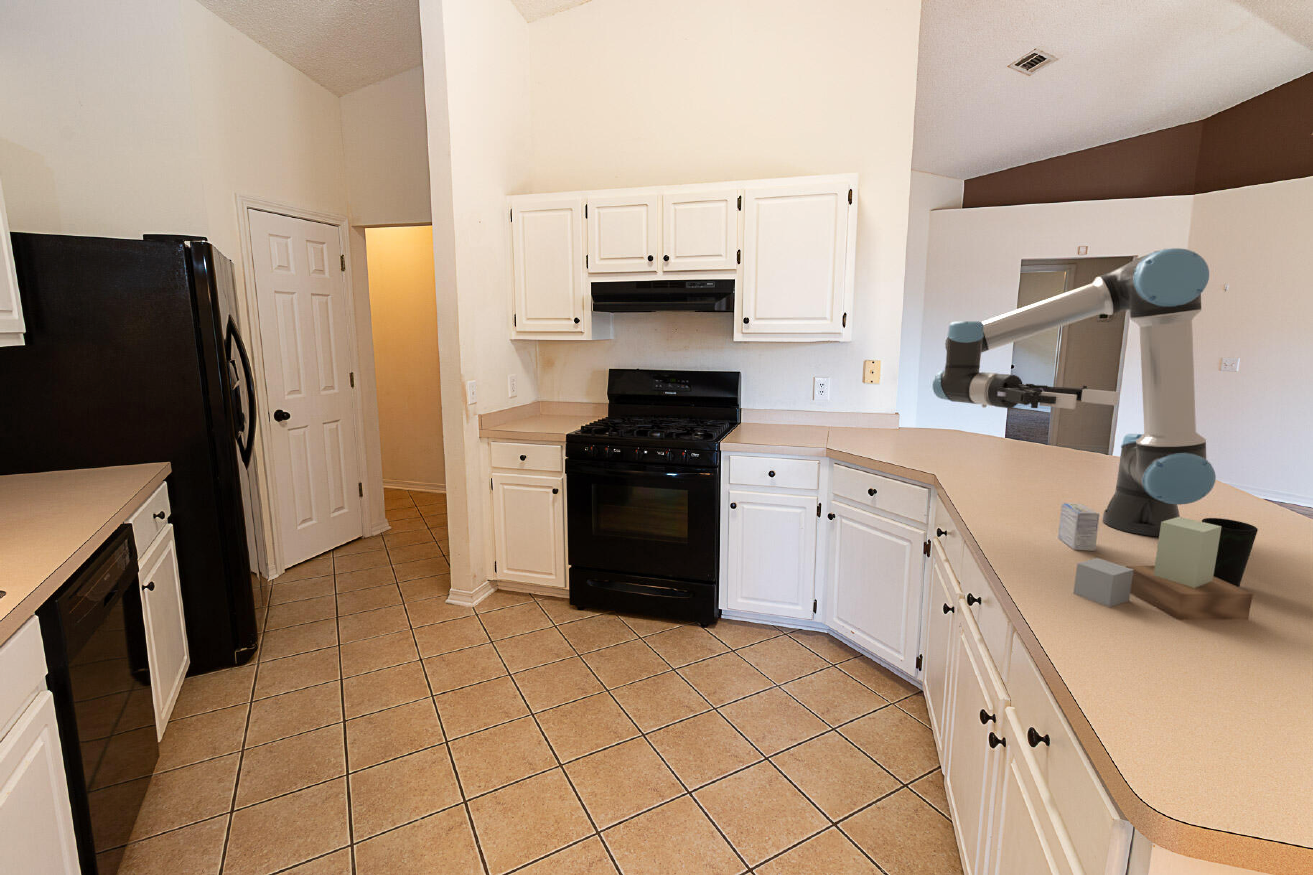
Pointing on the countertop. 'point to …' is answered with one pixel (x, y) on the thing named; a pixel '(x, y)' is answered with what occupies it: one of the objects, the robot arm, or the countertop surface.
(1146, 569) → the walnut block
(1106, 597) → the grey block
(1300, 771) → the countertop surface
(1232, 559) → the cup
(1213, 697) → the countertop surface
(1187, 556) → the sage block
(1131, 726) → the countertop surface
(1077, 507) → the medicine box
